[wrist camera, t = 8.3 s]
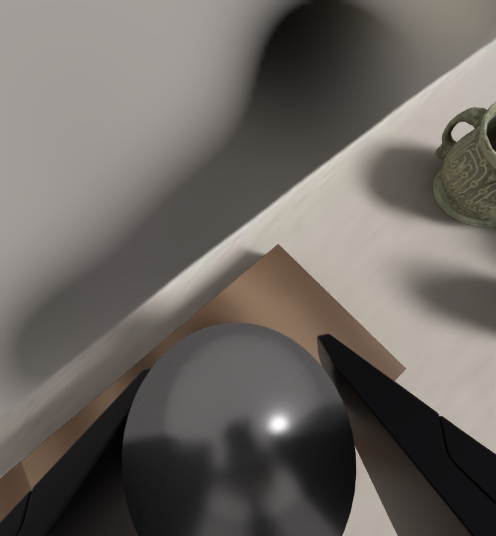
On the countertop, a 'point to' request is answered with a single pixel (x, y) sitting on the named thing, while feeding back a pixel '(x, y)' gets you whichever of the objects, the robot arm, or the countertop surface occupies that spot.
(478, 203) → the vessel
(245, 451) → the silver cylindrical piece
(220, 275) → the countertop surface
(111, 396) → the plate
